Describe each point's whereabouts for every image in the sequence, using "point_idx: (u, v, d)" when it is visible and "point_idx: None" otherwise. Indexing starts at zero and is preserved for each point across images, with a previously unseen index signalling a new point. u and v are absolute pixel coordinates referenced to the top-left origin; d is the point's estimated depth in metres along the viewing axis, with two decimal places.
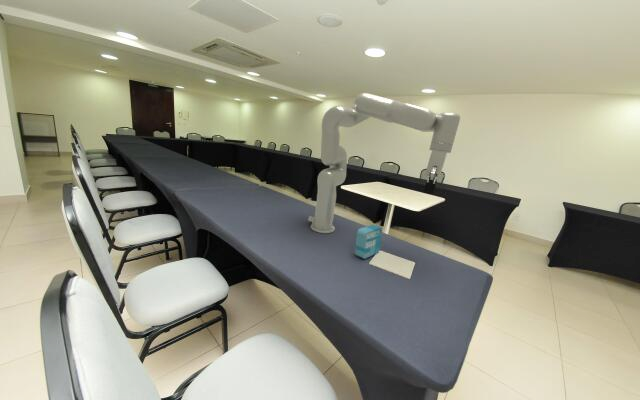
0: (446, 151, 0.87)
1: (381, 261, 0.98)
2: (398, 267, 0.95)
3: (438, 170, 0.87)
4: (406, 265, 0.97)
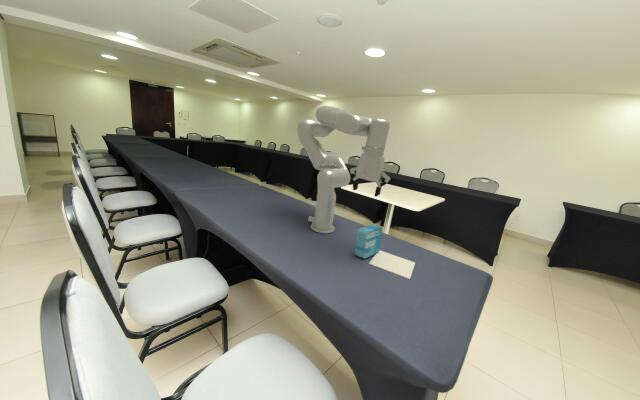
0: None
1: (381, 261, 0.98)
2: (398, 267, 0.95)
3: None
4: (406, 265, 0.97)
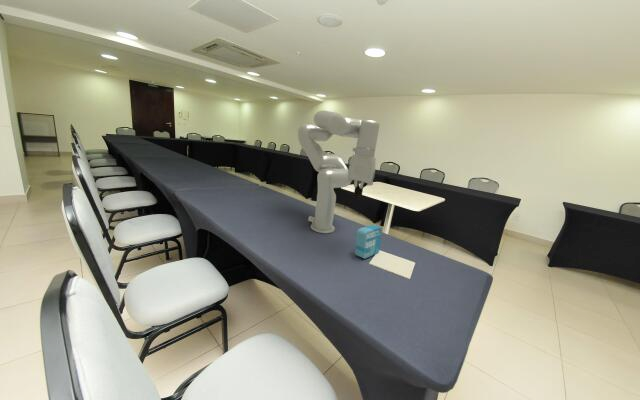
0: None
1: (381, 261, 0.98)
2: (398, 267, 0.95)
3: (374, 174, 0.96)
4: (406, 265, 0.97)
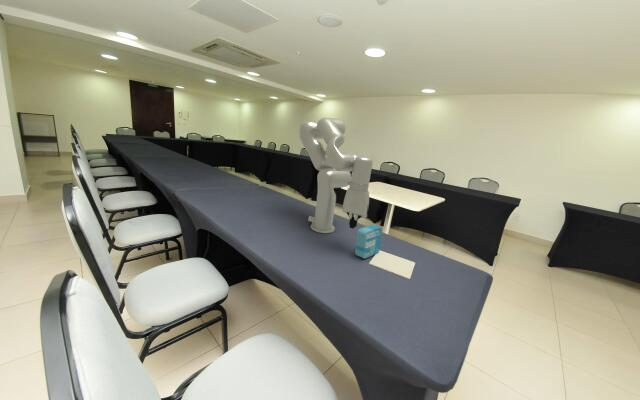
0: None
1: (381, 261, 0.98)
2: (398, 267, 0.95)
3: None
4: (406, 265, 0.97)
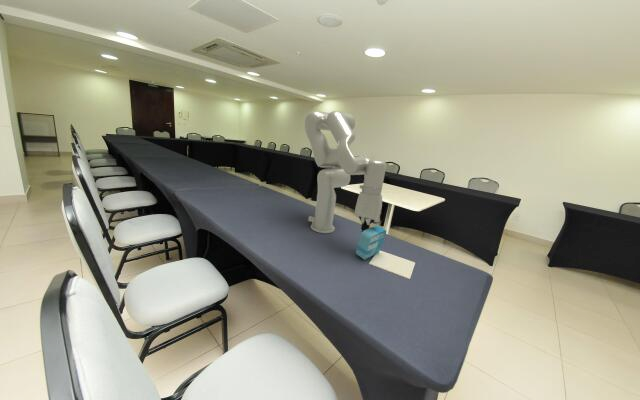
0: None
1: (381, 261, 0.98)
2: (398, 267, 0.95)
3: None
4: (406, 265, 0.97)
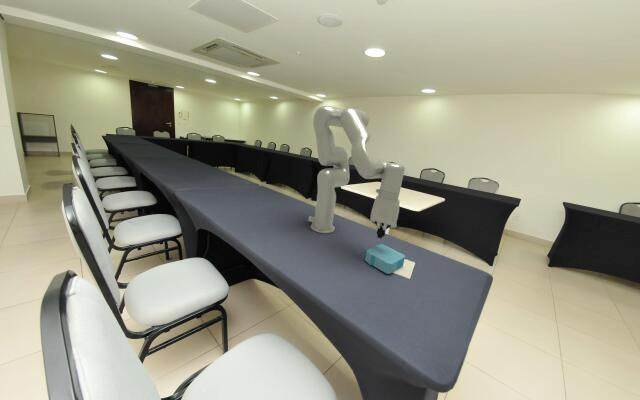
0: None
1: None
2: None
3: None
4: (406, 265, 0.97)
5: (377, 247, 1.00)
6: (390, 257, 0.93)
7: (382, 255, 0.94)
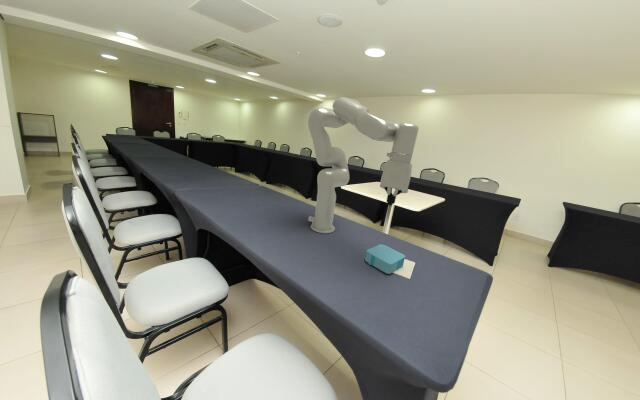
0: None
1: None
2: None
3: (409, 181, 0.90)
4: (406, 265, 0.97)
5: (377, 247, 1.00)
6: (390, 257, 0.93)
7: (382, 255, 0.94)
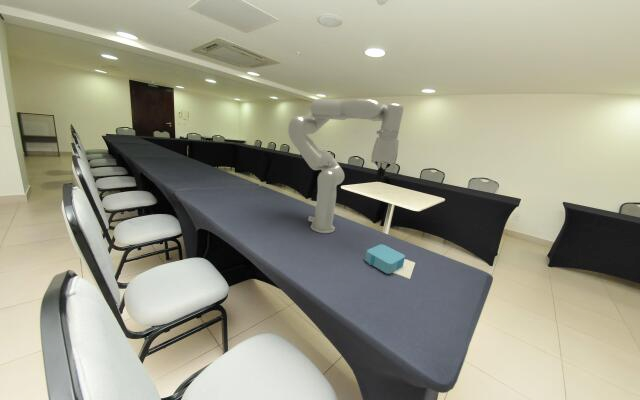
0: None
1: None
2: None
3: None
4: (406, 265, 0.97)
5: (377, 247, 1.00)
6: (390, 257, 0.93)
7: (382, 255, 0.94)
